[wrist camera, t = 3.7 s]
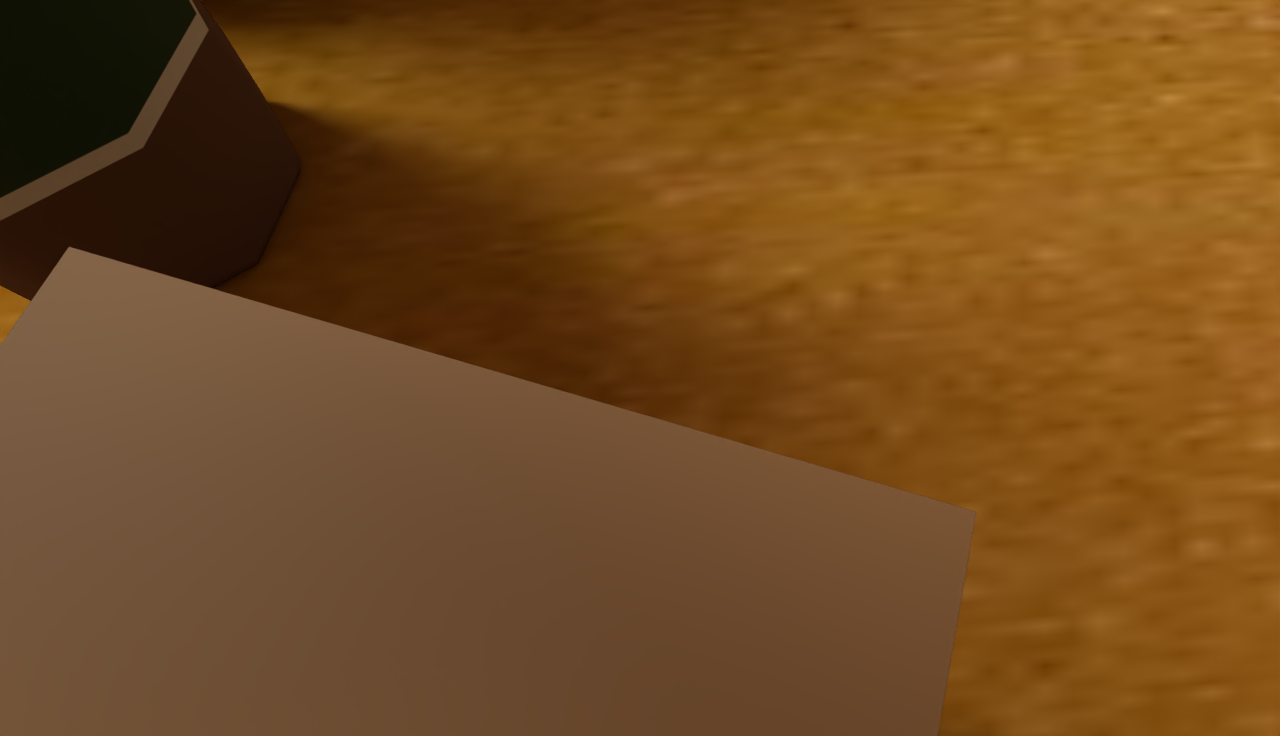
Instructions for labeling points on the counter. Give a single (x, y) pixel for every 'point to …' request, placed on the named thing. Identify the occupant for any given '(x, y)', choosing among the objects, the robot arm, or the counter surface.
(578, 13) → the counter surface
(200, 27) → the beer bottle
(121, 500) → the walnut block
